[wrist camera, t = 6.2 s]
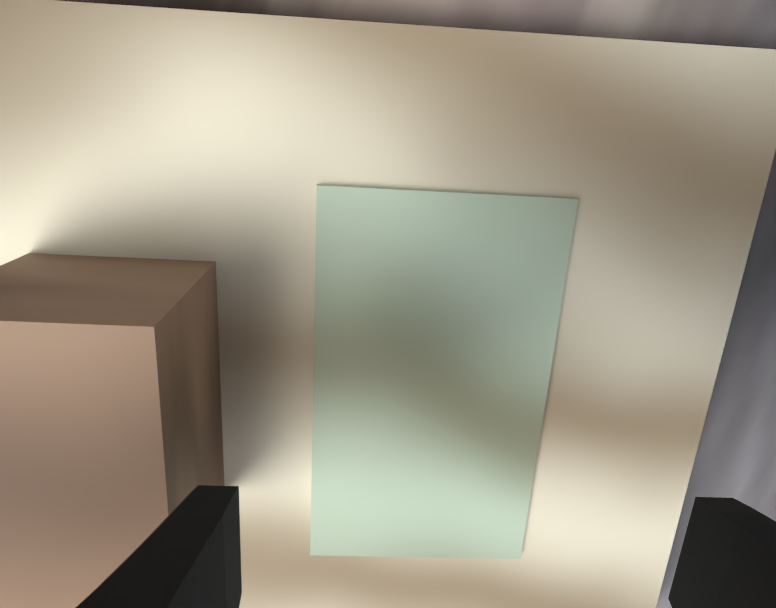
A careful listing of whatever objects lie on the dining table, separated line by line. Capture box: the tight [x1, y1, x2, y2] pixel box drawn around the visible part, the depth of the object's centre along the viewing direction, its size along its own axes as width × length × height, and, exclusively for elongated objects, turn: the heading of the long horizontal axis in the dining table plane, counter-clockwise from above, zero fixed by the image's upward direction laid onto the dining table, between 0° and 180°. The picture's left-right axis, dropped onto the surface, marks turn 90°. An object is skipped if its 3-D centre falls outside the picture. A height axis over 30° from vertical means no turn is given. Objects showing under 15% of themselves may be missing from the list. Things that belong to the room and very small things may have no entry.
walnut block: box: [0, 253, 224, 608], centre depth 12 cm, size 6×4×4 cm, turn 177°
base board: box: [0, 0, 776, 608], centre depth 15 cm, size 16×17×2 cm
